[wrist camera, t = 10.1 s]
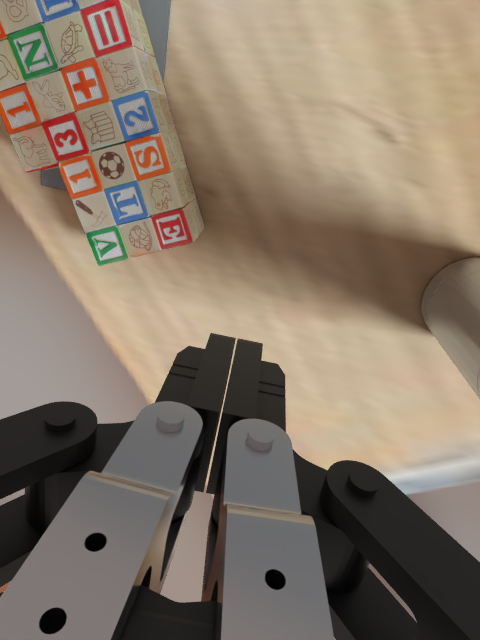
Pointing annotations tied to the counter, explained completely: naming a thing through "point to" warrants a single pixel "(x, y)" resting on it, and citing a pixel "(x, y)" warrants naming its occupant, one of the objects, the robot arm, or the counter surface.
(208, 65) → the counter surface
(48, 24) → the stack of blocks
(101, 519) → the robot arm
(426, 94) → the counter surface
